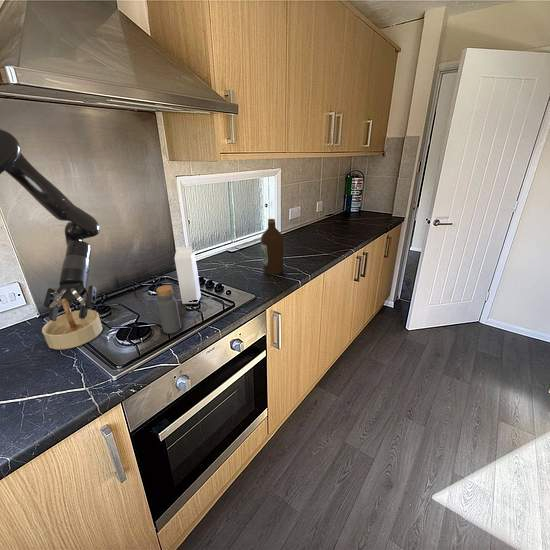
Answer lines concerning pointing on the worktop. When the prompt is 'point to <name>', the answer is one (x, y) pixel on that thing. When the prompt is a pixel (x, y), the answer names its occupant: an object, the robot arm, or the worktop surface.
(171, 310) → the bottle
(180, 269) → the milk
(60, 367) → the worktop surface
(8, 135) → the robot arm
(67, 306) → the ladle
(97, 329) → the bowl
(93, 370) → the worktop surface
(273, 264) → the olive oil
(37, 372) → the worktop surface
